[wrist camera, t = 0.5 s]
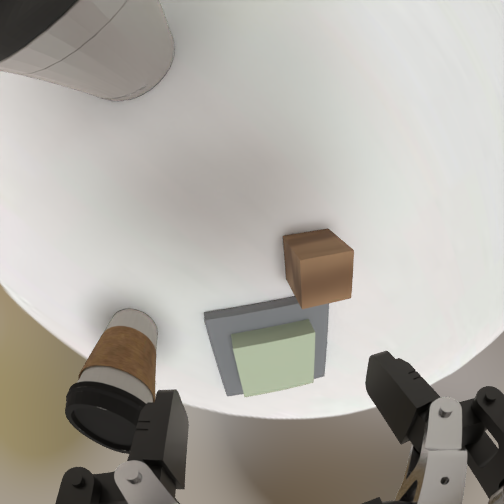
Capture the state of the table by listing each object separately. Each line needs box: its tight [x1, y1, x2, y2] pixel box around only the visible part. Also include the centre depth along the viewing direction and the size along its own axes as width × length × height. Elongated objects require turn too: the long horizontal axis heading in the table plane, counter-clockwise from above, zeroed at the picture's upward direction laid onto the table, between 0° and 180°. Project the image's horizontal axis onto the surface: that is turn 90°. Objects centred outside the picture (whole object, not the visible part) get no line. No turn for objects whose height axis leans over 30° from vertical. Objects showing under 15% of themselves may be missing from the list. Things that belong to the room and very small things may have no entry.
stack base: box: [204, 296, 329, 397], centre depth 32 cm, size 14×14×4 cm
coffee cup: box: [65, 309, 158, 454], centre depth 23 cm, size 8×8×15 cm
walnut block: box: [283, 229, 354, 309], centre depth 26 cm, size 5×5×6 cm
